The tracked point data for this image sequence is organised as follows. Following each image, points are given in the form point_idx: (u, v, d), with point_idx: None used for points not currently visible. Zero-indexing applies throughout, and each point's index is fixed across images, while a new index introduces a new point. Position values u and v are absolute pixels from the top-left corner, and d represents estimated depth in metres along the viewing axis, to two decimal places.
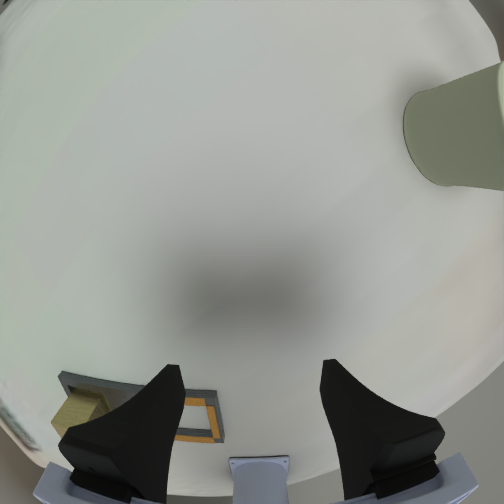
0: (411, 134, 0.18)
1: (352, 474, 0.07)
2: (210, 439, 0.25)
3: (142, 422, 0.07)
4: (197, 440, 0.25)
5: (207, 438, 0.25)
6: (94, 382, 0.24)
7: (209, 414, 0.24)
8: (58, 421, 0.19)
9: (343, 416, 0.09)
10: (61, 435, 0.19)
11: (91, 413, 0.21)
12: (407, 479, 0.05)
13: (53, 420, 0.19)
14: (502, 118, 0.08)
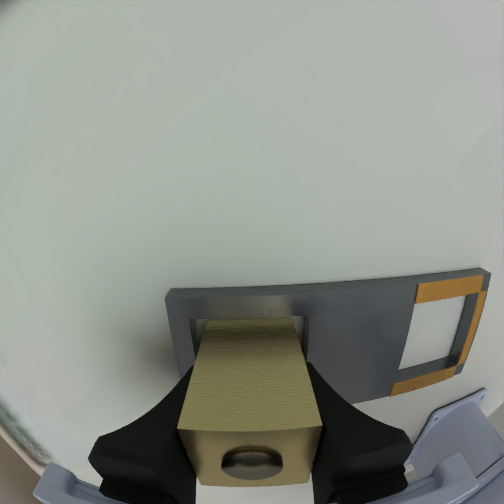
0: None
1: (319, 480, 0.07)
2: (450, 371, 0.14)
3: (176, 426, 0.07)
4: (435, 379, 0.14)
5: (448, 369, 0.14)
6: (284, 290, 0.13)
7: (477, 309, 0.13)
8: (210, 417, 0.07)
9: None
10: (201, 461, 0.07)
11: None
12: (372, 491, 0.05)
13: (186, 419, 0.07)
14: None
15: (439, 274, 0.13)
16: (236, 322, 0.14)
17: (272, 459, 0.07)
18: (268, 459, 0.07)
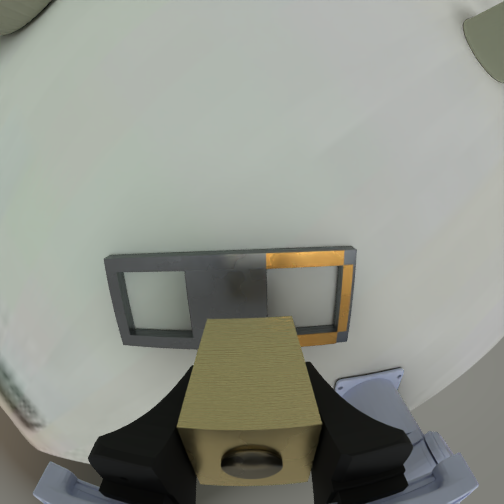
0: (472, 38, 0.14)
1: (319, 480, 0.07)
2: (332, 337, 0.22)
3: (176, 426, 0.07)
4: (313, 341, 0.22)
5: (328, 335, 0.21)
6: (169, 254, 0.20)
7: (344, 281, 0.20)
8: (209, 415, 0.07)
9: None
10: (201, 460, 0.07)
11: (305, 365, 0.10)
12: (372, 491, 0.05)
13: (186, 418, 0.07)
14: None
15: (296, 248, 0.21)
16: (236, 321, 0.14)
17: (272, 458, 0.07)
18: (268, 458, 0.07)
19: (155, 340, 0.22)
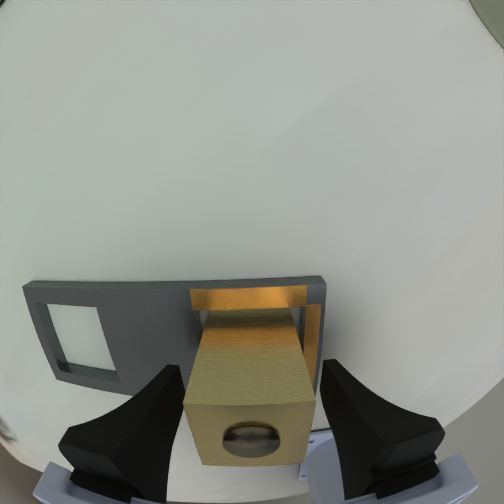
0: (479, 3, 0.08)
1: (352, 474, 0.07)
2: None
3: (142, 422, 0.07)
4: None
5: None
6: (81, 285, 0.14)
7: (308, 327, 0.14)
8: (212, 393, 0.09)
9: (343, 416, 0.09)
10: (204, 438, 0.09)
11: (301, 349, 0.11)
12: (407, 480, 0.05)
13: (191, 395, 0.08)
14: None
15: (237, 281, 0.14)
16: (237, 311, 0.15)
17: (270, 435, 0.08)
18: (266, 435, 0.08)
19: (84, 379, 0.15)
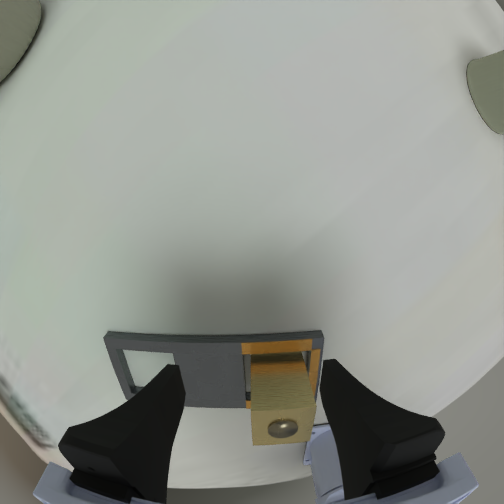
0: (475, 87, 0.16)
1: (352, 474, 0.07)
2: None
3: (142, 422, 0.07)
4: None
5: None
6: (159, 338, 0.22)
7: (312, 361, 0.22)
8: (265, 404, 0.17)
9: (343, 416, 0.09)
10: (257, 429, 0.17)
11: (308, 378, 0.19)
12: (407, 479, 0.05)
13: (254, 406, 0.16)
14: None
15: (269, 335, 0.23)
16: None
17: (293, 424, 0.16)
18: (291, 424, 0.16)
19: None
